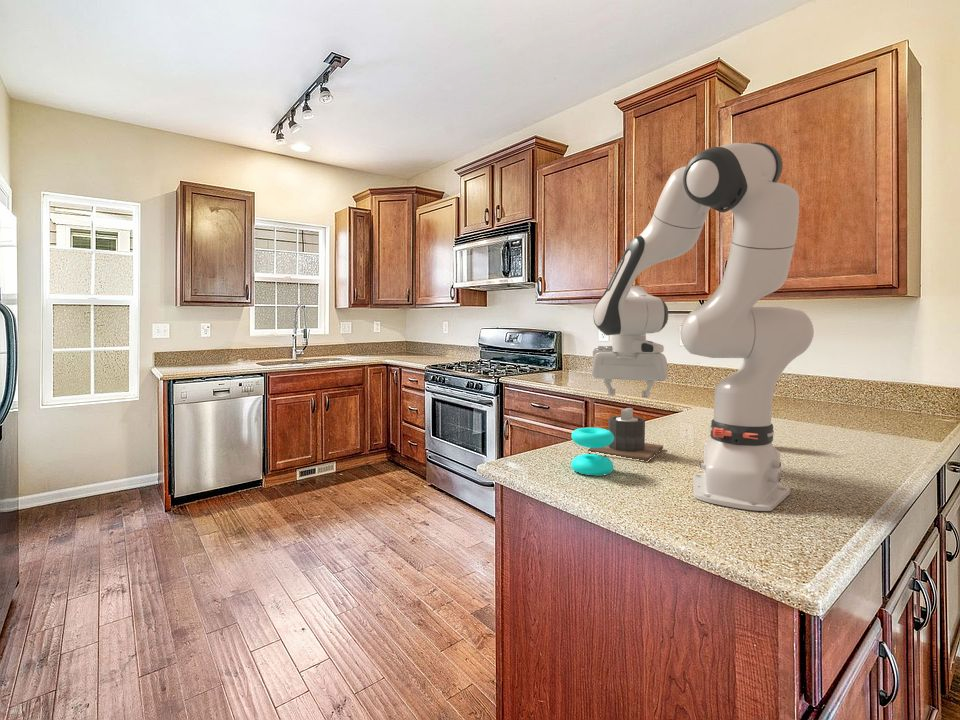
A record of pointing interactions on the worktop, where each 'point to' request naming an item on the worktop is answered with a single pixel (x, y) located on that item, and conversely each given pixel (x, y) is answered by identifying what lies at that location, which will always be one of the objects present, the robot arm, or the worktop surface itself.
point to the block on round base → (627, 415)
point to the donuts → (592, 462)
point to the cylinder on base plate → (629, 440)
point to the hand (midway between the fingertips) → (628, 396)
